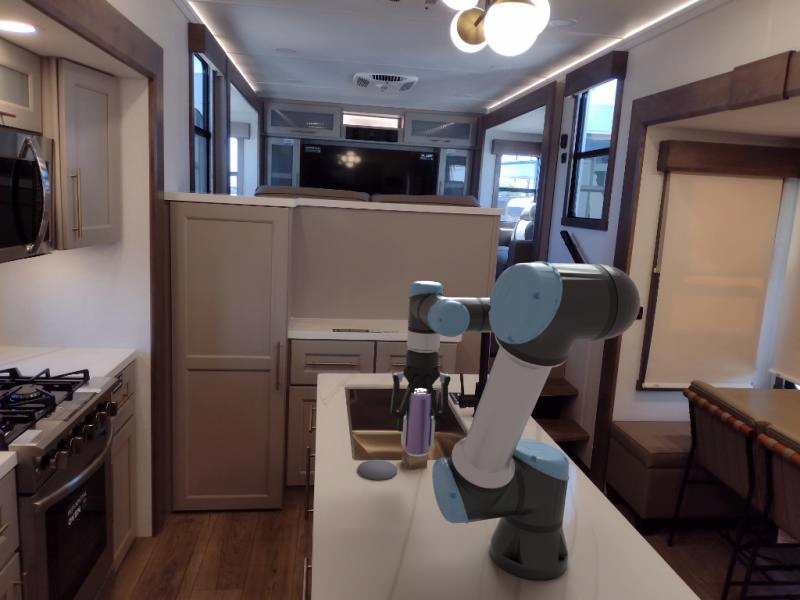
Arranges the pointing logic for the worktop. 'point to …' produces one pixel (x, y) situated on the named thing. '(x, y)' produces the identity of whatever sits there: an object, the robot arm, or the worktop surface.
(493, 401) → the robot arm
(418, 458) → the walnut block
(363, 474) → the coaster
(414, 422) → the beverage can
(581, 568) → the worktop surface
